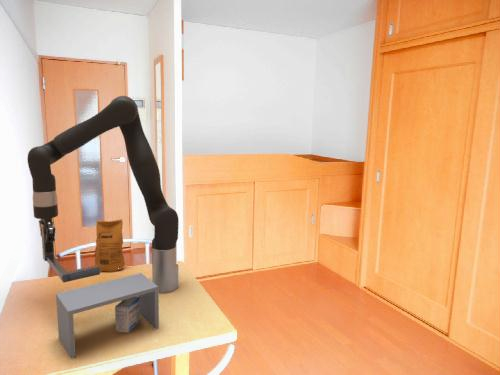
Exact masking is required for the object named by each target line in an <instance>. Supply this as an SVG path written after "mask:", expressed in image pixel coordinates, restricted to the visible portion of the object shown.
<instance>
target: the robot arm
mask: <svg viewBox="0 0 500 375" xmlns="http://www.w3.org/2000/svg"><path fill="white" fill-rule="evenodd" d="M139 113H140V112H139V108H138V104H137V103H136V101H135V100H134V99H133V98H131V97H129V96H126V95H120V96H117V97H115V98H114V99H112V100H111V102H110V103H109V104H107V105H106V106H105V107H104V108H103V109H101V111H99V112H98V113H96V114H95V115H93V116H92V117H90V118H88V119H86V120H83V121H82V122H80V123H77V124H75V125H73V126H71V127H69V128H68V129H66V130H64V131H63V132H60V133H59V134H57V135H56V136H55V137H54V138H52V139H51V140H49V141H48V142H46V143H44V144H42V145H39V146H35V147H32V148H31V149H30V150H29V151H28V153H27V165H28V169H29V172H30V176H31V179H32V208H33V209H32V210H33V217H34V219H39V220H38V226H39V232H40V237H41V238H42V233H43V236H44V237H45V246H46V252H47V253H50V252H53V243H54V242H55V241H56V240H55V239H56V237H55V236H56V227H55V222H54V221H53V218H56V217H58V215H59V207H58V195H57V194H58V193H57V187H56V186H57V185H56V176H55V175H54V174H53V173H52V169H51V165H53V164H54V163H56V162H58V161H59V160H61V159H62V158H64V157H65V156H66V155H68V154H70V153H73V152H74V151H76V150H78V149H79V148H82V147H83V146H85V145H86V144H88V143H89V142H91V141H92V140H94V139H96V138H98V137H99V136H101V135H103V134H105V133H106V132H108V131H110V130H113V129H116V128H118V127H119V130H120V131H121V133H122V136H123V139H124V143H125V144H124V145H125V151H126V155H127V159H128V163H129V166H130V169H131V172H132V174H133V177H134V179H135V182H136V183H137V185H138V188H139V190H140V192H141V195H142V197H143V200H144V204H145V207H146V210H147V214H148V219H149V221H150V224H152V225H153V226H154V238H152V240H151V272H152V273H151V274H152V275H151V276H152V277H151V278H152V279H151V281H152V282H153V283H154V284H156V285H157V286H158V294H159V293H160V294H167V293H171V292H173V291H175V290H176V289H178V288H179V264H178V263H177V241H178V240H179V221H180V220H179V215H178V212H177V211H176V210H175V209H174V208H172V207H170V206H169V205H168V202H167V200H166V198H165V196H164V193H163V191H162V185H161V183H162V182H161V172H160V169H159V166H158V163H157V161H156V157H155V154H154V151H153V150H152V147H151V145H150V143H149V140H148V138H147V137H146V135H145V134H146V133H145V132H144V129H143V125H142V121H141V118H140V114H139ZM45 233H46V234H45ZM49 237H51V238H50V239H48V238H49Z"/></svg>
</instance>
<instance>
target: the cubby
mask: <svg viewBox="0 0 500 375" xmlns="http://www.w3.org/2000/svg"><path fill="white" fill-rule="evenodd" d="M55 296H56V297H55V299H56V301H55V302H56V314H57V315H56V316H57V331H58V338H59V341H60V343H61V344H62V346H63V348H64V350H65V352H66V353H67V354H68V356H69V358H70V360H73V359H75V358H76V344H75V343H76V342H75V327H74V326H75V324H74V315H76V314H79V313H84V312H86V311H90V310H94V309H96V308H97V309H98V308H101V307H103V306H108V305H111V304H115V303H118V302H121V301H122V300H126V299H129V298H133V297H136V296H137V297H140V317H142V318H143V319H144V320H145V321H147V323H148V324H149V325H150V326H151V327H153V329H154V330H157V329H160V325H159V324H160V323H159V322H160V319H159V318H160V316H159V315H160V314H159V313H160V312H159V310H160V308H159V307H160V306H159V302H160V300H159V296H160V295H159V293H158V286H157V285H156V284H154V283H153V282H152V279H150V278H148V277H147V276H145V275H144V274H143V273H141V272H139V273H136V274H135V273H134V274H132V275H127V276H123V277H119V278H115V279H110V280H106V281H102V282H98V283H95V284H91V285H86V286H83V287H78V288H74V289H69V290H66V291H65V290H64V291H62V292H58V293H55Z"/></svg>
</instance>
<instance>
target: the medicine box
mask: <svg viewBox="0 0 500 375" xmlns="http://www.w3.org/2000/svg"><path fill="white" fill-rule="evenodd" d="M114 315H115V316H114V318H115V331H116V332H118V333H119V332H120V333H127V334H129V333H130V332H131V331H132V330H133V329H134V327H136V326H137V325H138V323H139V322H140V321H141V315H140V297H138V296H136V297H133V298H129V299H126V300H122V301H119V303H117V304H116V305H115V306H114Z"/></svg>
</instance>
